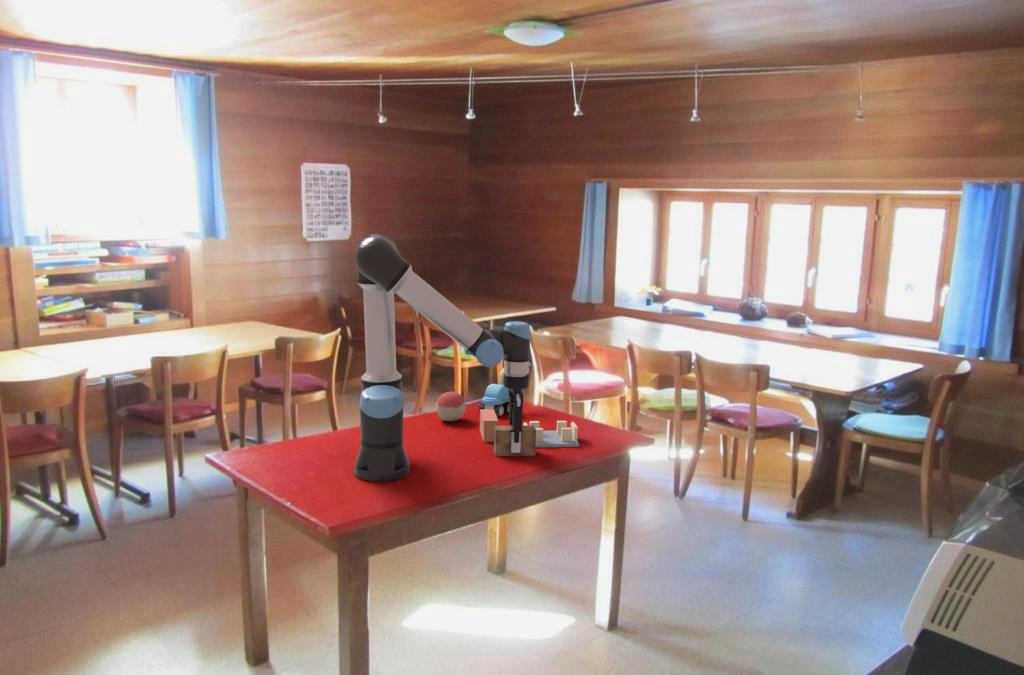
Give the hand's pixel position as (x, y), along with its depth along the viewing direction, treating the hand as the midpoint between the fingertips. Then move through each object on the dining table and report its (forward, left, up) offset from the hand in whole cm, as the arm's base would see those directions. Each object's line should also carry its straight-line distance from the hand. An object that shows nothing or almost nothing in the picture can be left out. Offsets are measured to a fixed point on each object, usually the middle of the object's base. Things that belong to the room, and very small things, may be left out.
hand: (514, 449), depth 241 cm
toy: (-17, +36, -1) cm, 40 cm away
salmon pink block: (-6, +18, -1) cm, 19 cm away
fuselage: (0, 0, -1) cm, 1 cm away
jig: (+13, +12, -1) cm, 18 cm away
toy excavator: (+1, +46, -2) cm, 46 cm away
